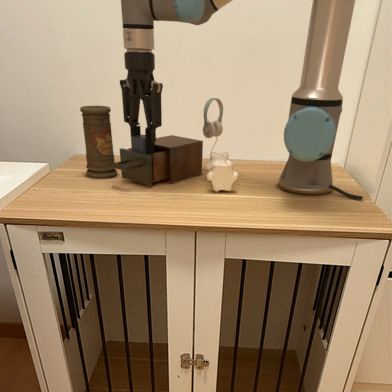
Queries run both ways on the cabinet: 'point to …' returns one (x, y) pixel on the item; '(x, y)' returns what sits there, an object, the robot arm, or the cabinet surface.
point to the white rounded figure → (220, 171)
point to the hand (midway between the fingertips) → (143, 153)
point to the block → (138, 143)
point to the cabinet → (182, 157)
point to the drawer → (143, 165)
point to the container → (98, 141)
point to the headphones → (216, 126)
